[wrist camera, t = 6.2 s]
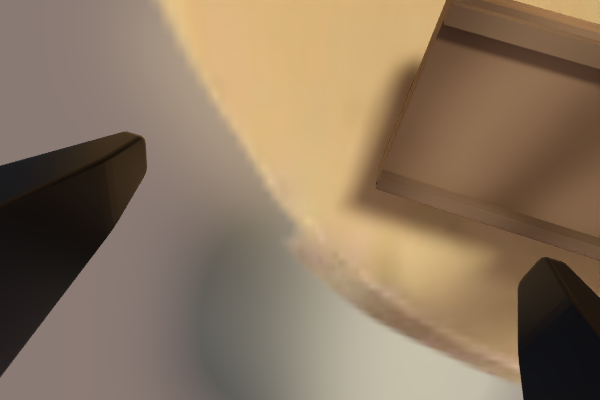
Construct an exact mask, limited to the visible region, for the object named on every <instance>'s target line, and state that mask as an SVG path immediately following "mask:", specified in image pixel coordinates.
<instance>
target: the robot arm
mask: <svg viewBox="0 0 600 400" xmlns="http://www.w3.org/2000/svg"><path fill="white" fill-rule="evenodd" d="M146 170H147V160H146V143H145V139H144V138H143V137H142V136H140V135H137V134H134V133H130V132H121V133H117V134H114V135H110V136H106V137H103V138H100V139H96V140H92V141H88V142H85V143H81V144H77V145H74V146H70V147H66V148H63V149H59V150H56V151H52V152H48V153H45V154H41V155H38V156H34V157H30V158H26V159H23V160H19V161H16V162H12V163H9V164H5V165H1V166H0V377H1V376H2V374H3V373H4V372H5V371H6V369H7V368H8V367H9V365H10V364H11V363H12V361H13V360H14V359H15V357H16V356H17V355H18V353H19V352H20V351H21V349H22V348H23V347H24V345H25V344H26V343H27V342H28V340H29V339H30V337H31V336H32V335H33V334H34V332H35V331H36V330H37V328H38V327H39V326H40V324H41V323H42V322H43V321H44V319H45V318H46V317H47V315H48V314H49V312H50V311H51V310H52V309H53V307H54V306H55V305H56V303H57V302H58V301H59V300H60V298H61V297H62V296H63V294H64V293H65V292H66V290H67V289H68V288H69V286H70V285H71V284H72V282H73V281H74V280H75V278H76V277H77V276H78V274H79V273H80V272H81V271H82V269H83V268H84V267H85V265H86V264H87V263H88V261H89V260H90V259H91V257H92V256H93V255H94V254H95V252H96V251H97V249H98V248H99V247H100V245H101V244H102V243H103V242H104V240H105V239H106V238H107V236H108V235H109V234H110V232H111V231H112V229H113V228H114V226H115V225H116V223H117V222H118V220H119V219H120V217H121V215H122V214H123V212H124V210H125V208H126V207H127V205H128V203H129V202H130V200H131V198H132V196H133V195H134V193H135V191H136V190H137V188H138V186H139V184H140V183H141V181H142V179H143V178H144V176H145V173H146ZM518 356H519V366H520V375H521V383H522V391H523V398H524V400H600V298H599V297H598V296H597V295H596V294H595V293H594V292H593V291H592V290H591V289H590V288H589V287H588V286H587V285H586V284H585V283H584V282H583V281H582V280H581V279H580V278H579V277H578V276H577V275H576V274H575V273H574V272H573V271H572V270H571V269H570V268H569V267H568V266H567V265H566V264H565V263H563V262H561V261H558V260H554V259H551V258H547V257H545V258H541V259H540V260H538V261H537V263H536V264H535V265H534V266H533V267H532V268H531V269H530V270H529V272H528V273H527V274H526V275H525V276H524V277H523V278H522V280H521V281H520V283H519V286H518Z"/></svg>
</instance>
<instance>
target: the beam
mask: <svg viewBox="0 0 600 400" xmlns="http://www.w3.org/2000/svg"><path fill="white" fill-rule="evenodd" d="M376 184H377V186H376V189H379V190H382V191H385V192H388V193H391V194H394V195H397V196H400V197H404V198H407V199H410V200H413V201H416V202H419V203H422V204H425V205H429V206H432V207H435V208H438V209H441V210H444V211H447V212H450V213H453V214H457V215H460V216H463V217H466V218H469V219H472V220H475V221H478V222H482V223H485V224H488V225H491V226H494V227H497V228H500V229H503V230H506V231H510V232H513V233H516V234H519V235H522V236H525V237H528V238H531V239H535V240H538V241H541V242H544V243H547V244H550V245H553V246H556V247H559V248H563V249H566V250H569V251H572V252H575V253H578V254H581V255H584V256H587V257H591V258H594V259H597V260H600V25H599V24H596V23H592V22H588V21H585V20H581V19H578V18H574V17H570V16H567V15H563V14H560V13H556V12H553V11H549V10H545V9H542V8H538V7H535V6H531V5H527V4H524V3H520V2H517V1H513V0H446V2H445V5H444V7H443V10H442V12H441V15H440V17H439V19H438V22H437V24H436V27H435V29H434V32H433V34H432V37H431V39H430V42H429V44H428V47H427V49H426V52H425V54H424V57H423V59H422V62H421V64H420V67H419V69H418V72H417V74H416V77H415V79H414V81H413V84H412V86H411V89H410V91H409V94H408V96H407V99H406V101H405V104H404V106H403V109H402V111H401V114H400V116H399V119H398V121H397V124H396V126H395V129H394V131H393V134H392V136H391V139H390V141H389V143H388V146H387V148H386V151H385V153H384V156H383V158H382V161H381V163H380V166H379V171H378V177H377V182H376Z"/></svg>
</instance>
